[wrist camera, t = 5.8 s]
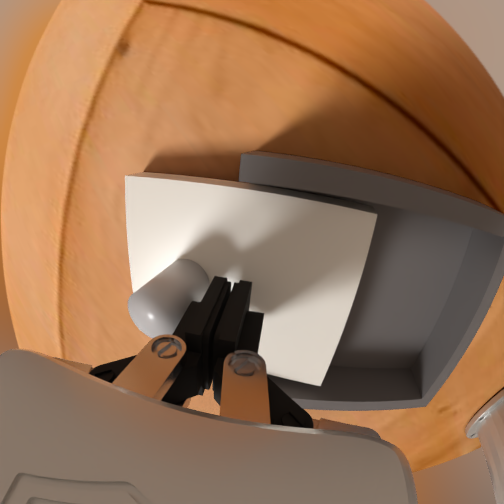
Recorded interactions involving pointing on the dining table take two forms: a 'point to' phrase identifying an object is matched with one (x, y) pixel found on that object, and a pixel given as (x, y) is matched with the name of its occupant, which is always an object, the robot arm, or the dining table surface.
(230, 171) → the dining table surface
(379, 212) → the dark box
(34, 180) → the dining table surface
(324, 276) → the cover plate
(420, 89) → the dining table surface
